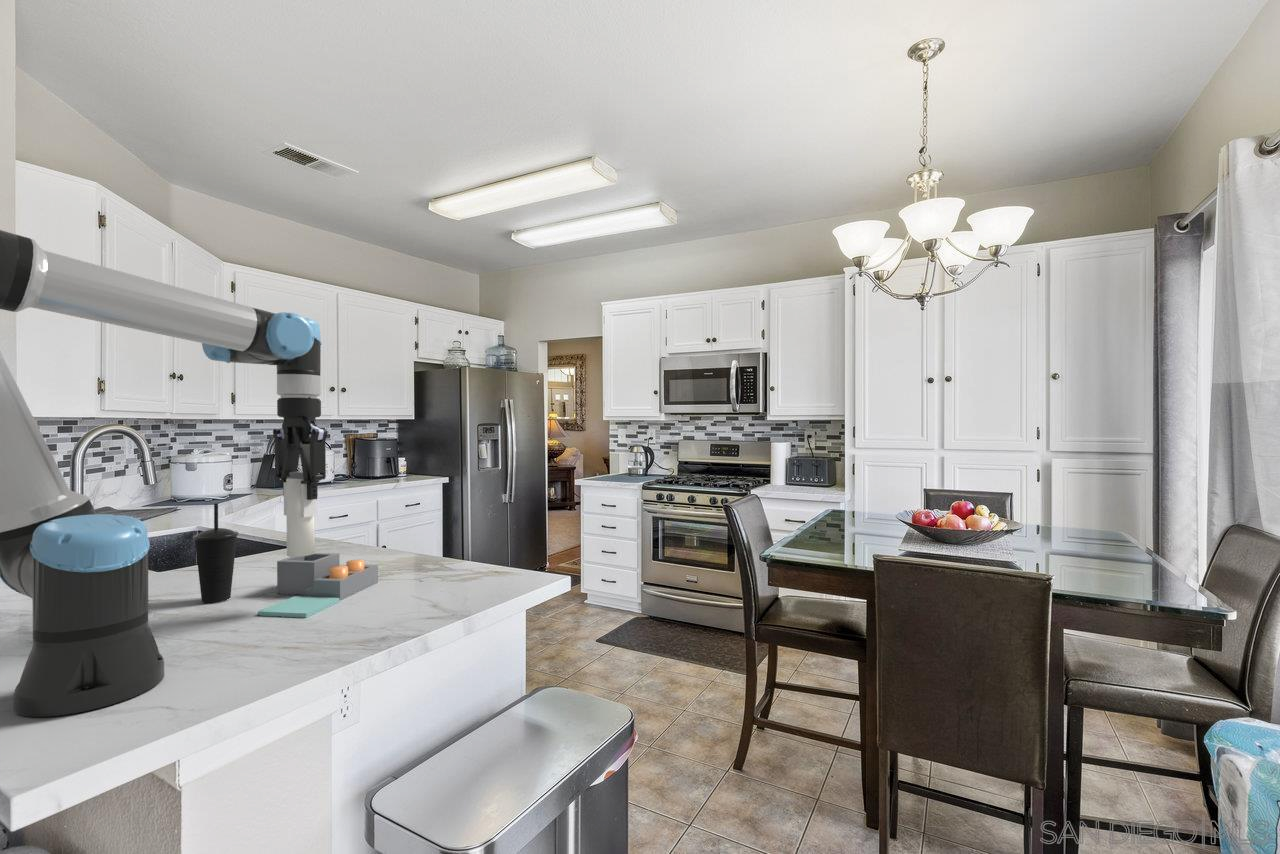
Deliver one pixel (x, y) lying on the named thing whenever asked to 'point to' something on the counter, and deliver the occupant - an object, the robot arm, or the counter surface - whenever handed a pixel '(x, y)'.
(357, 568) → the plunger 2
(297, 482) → the cylinder
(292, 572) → the grey stepped holder
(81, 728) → the counter surface
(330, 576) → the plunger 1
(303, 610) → the mat
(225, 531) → the drinking cup
